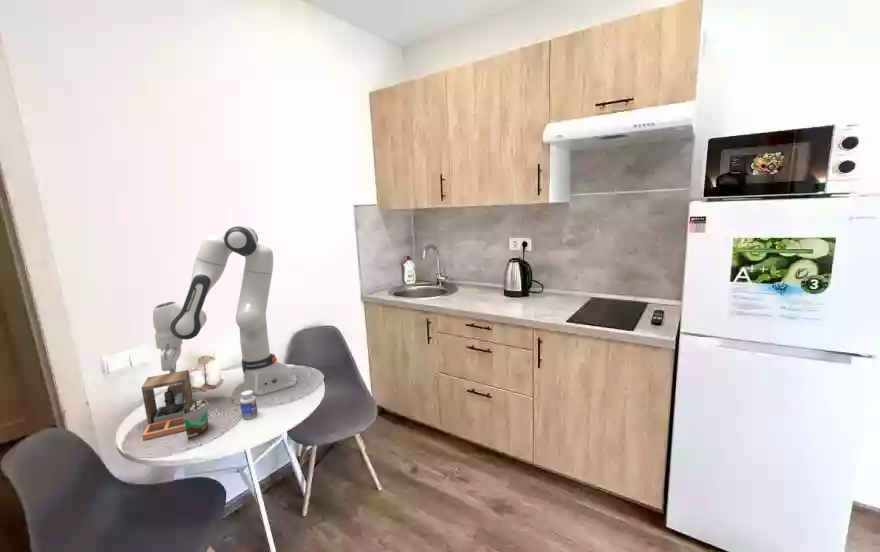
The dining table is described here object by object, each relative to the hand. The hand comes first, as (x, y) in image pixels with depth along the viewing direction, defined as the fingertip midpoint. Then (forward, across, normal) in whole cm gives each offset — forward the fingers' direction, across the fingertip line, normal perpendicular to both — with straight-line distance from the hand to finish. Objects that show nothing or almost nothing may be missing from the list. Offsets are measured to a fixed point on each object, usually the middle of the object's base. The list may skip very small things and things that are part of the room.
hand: (173, 373), depth 160 cm
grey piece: (+12, -8, -1) cm, 14 cm away
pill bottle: (+12, -30, -28) cm, 43 cm away
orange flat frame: (+12, -26, -1) cm, 28 cm away
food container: (+12, -32, -12) cm, 37 cm away
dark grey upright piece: (+12, -16, -1) cm, 20 cm away
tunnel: (+12, -16, -1) cm, 20 cm away
